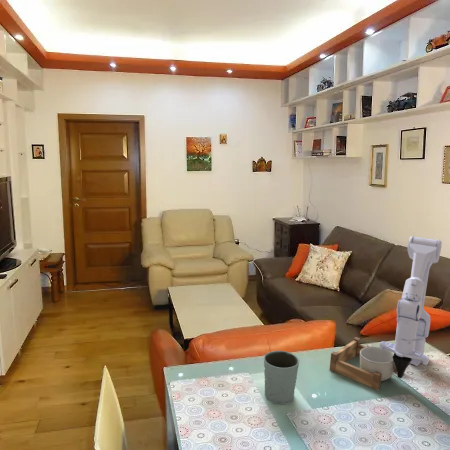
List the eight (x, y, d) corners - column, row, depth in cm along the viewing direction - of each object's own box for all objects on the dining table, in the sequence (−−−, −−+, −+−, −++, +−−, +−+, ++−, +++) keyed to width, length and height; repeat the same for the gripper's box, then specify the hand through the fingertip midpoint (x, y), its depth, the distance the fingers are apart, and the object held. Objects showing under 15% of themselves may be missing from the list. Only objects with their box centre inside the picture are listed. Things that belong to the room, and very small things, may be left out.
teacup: (395, 387, 134) (398, 364, 132) (359, 382, 136) (361, 359, 134) (388, 365, 147) (390, 343, 145) (355, 361, 149) (357, 339, 148)
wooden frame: (354, 352, 155) (355, 336, 154) (399, 369, 145) (401, 353, 143) (329, 369, 143) (331, 353, 141) (377, 390, 132) (379, 372, 131)
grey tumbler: (298, 390, 130) (301, 354, 127) (292, 409, 120) (295, 370, 118) (266, 383, 133) (268, 347, 131) (257, 401, 124) (260, 363, 121)
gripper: (377, 333, 135) (372, 372, 137) (425, 349, 125) (419, 391, 128) (386, 326, 140) (381, 364, 142) (433, 341, 130) (427, 382, 133)
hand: (400, 376), depth 135 cm, fingers closed
